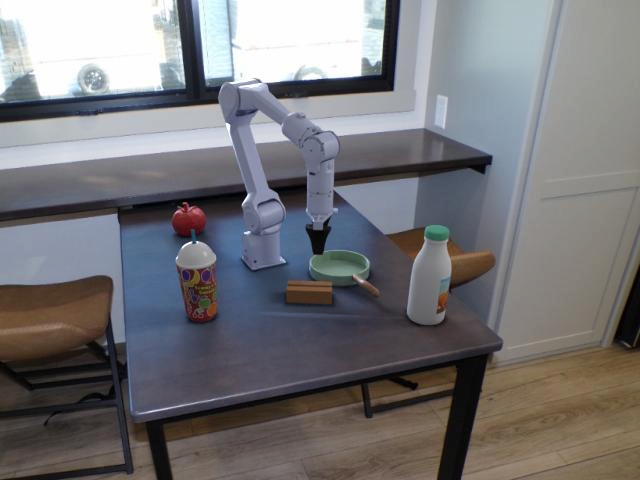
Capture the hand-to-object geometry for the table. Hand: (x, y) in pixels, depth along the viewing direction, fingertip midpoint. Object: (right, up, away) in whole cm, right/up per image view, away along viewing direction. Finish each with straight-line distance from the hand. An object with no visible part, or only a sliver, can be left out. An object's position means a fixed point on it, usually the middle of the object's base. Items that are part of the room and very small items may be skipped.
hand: (319, 247), depth 120 cm
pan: (+6, -6, +9) cm, 12 cm away
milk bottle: (+22, -16, -10) cm, 29 cm away
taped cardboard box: (-2, -12, -2) cm, 13 cm away
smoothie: (-26, -16, -7) cm, 31 cm away
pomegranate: (-35, +8, +34) cm, 50 cm away
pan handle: (+10, -10, -2) cm, 14 cm away
